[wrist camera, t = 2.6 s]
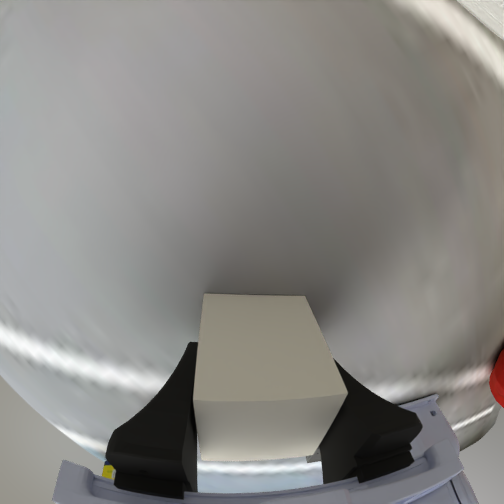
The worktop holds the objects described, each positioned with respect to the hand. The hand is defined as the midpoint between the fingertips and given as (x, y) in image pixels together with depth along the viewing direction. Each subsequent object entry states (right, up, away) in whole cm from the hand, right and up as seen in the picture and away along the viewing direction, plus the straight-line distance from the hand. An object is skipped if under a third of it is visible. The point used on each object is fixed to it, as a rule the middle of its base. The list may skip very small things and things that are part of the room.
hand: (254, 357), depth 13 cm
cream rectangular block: (0, +1, +2) cm, 2 cm away
